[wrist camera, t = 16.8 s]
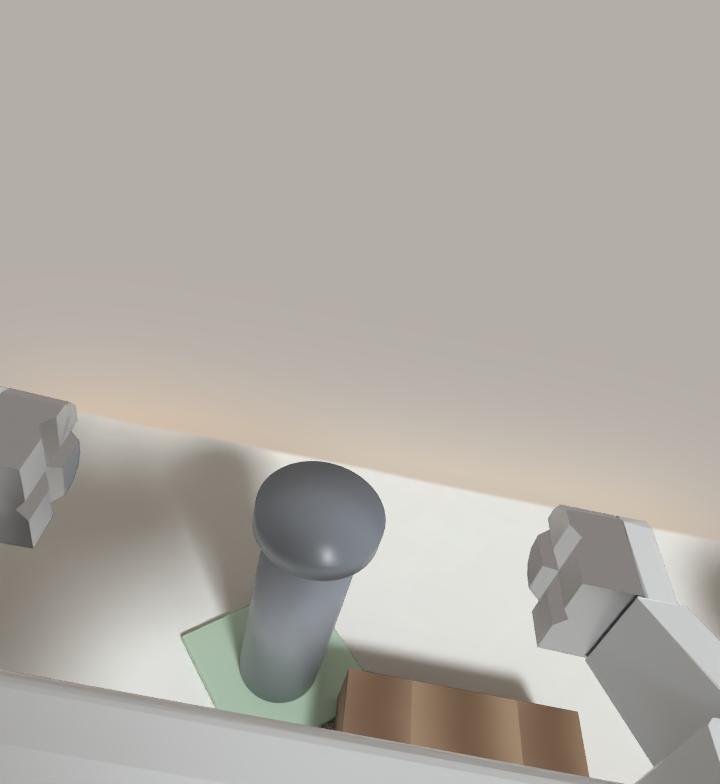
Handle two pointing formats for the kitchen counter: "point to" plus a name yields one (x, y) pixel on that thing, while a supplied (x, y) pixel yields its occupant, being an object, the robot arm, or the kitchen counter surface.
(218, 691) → the mat
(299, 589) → the grey capped peg
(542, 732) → the socket block
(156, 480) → the kitchen counter surface
